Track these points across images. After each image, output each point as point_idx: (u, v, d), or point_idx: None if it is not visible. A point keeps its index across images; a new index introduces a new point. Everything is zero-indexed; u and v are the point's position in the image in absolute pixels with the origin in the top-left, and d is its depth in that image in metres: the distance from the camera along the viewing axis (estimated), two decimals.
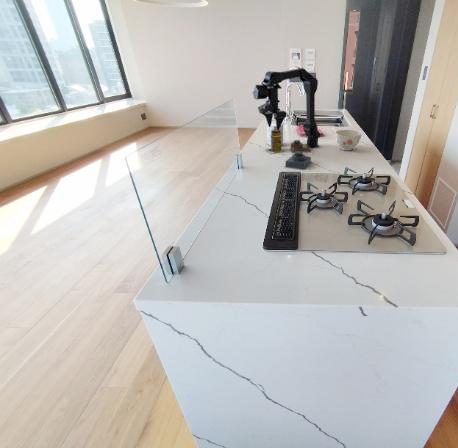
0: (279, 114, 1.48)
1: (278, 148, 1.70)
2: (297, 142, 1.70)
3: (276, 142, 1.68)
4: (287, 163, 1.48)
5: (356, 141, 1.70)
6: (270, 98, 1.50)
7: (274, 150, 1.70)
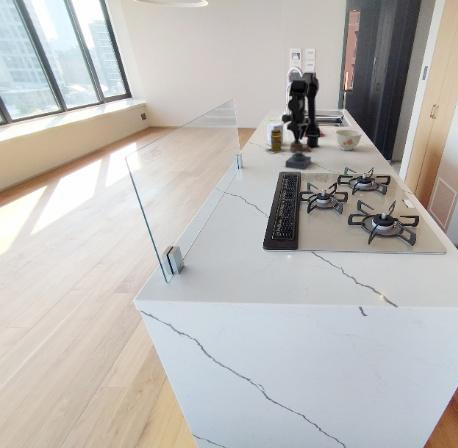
0: (288, 126, 1.34)
1: (278, 148, 1.70)
2: None
3: (276, 142, 1.68)
4: (287, 163, 1.48)
5: (356, 141, 1.70)
6: None
7: (274, 150, 1.70)
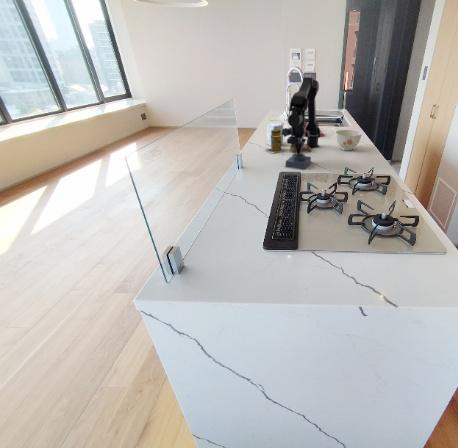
0: (289, 140, 1.38)
1: (278, 148, 1.70)
2: None
3: (276, 142, 1.68)
4: (287, 163, 1.48)
5: (356, 141, 1.70)
6: None
7: (274, 150, 1.70)
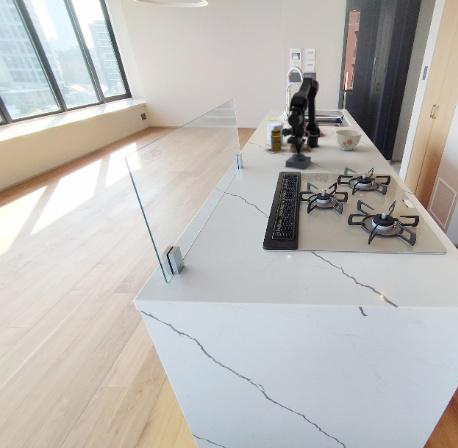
0: (289, 140, 1.38)
1: (278, 148, 1.70)
2: None
3: (276, 142, 1.68)
4: (287, 163, 1.48)
5: (356, 141, 1.70)
6: None
7: (274, 150, 1.70)
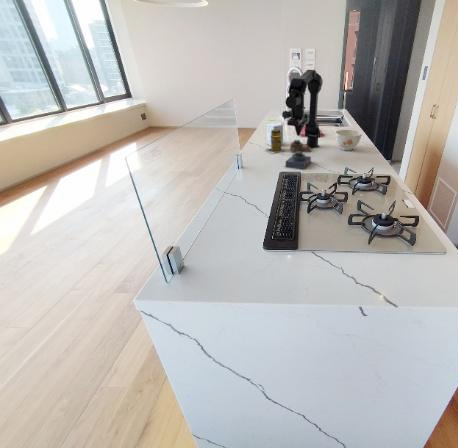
0: (289, 122, 1.44)
1: (278, 148, 1.70)
2: (297, 142, 1.70)
3: (276, 142, 1.68)
4: (287, 163, 1.48)
5: (356, 141, 1.70)
6: None
7: (274, 150, 1.70)
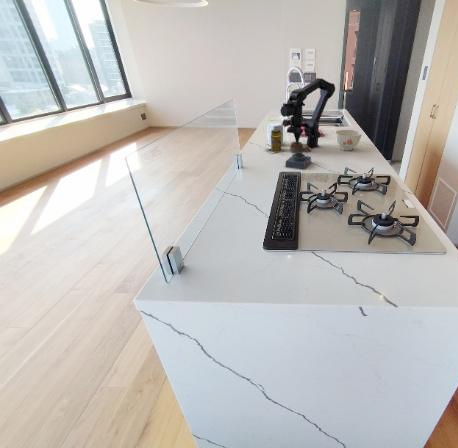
0: (288, 129, 1.60)
1: (278, 148, 1.70)
2: (297, 143, 1.70)
3: (276, 142, 1.68)
4: (287, 163, 1.48)
5: (356, 141, 1.70)
6: None
7: (274, 150, 1.70)
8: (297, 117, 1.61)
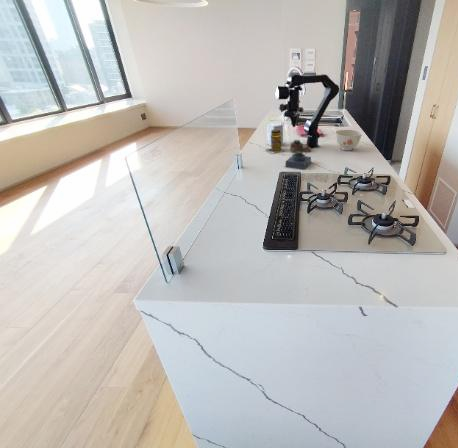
0: (285, 113, 1.59)
1: (278, 148, 1.70)
2: (297, 142, 1.70)
3: (276, 142, 1.68)
4: (287, 163, 1.48)
5: (356, 141, 1.70)
6: (289, 98, 1.62)
7: (274, 150, 1.70)
8: (294, 101, 1.61)
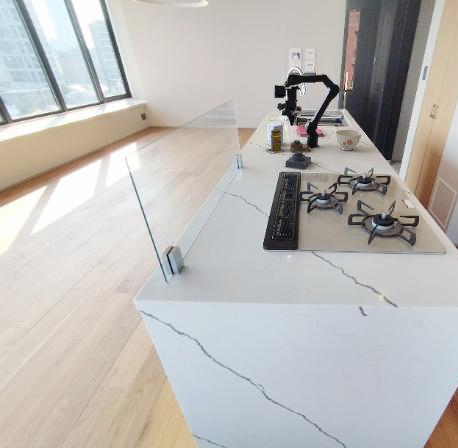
0: (283, 112, 1.62)
1: (278, 148, 1.70)
2: (297, 142, 1.70)
3: (276, 142, 1.68)
4: (287, 163, 1.48)
5: (356, 141, 1.70)
6: (287, 97, 1.64)
7: (274, 150, 1.70)
8: (291, 100, 1.63)
